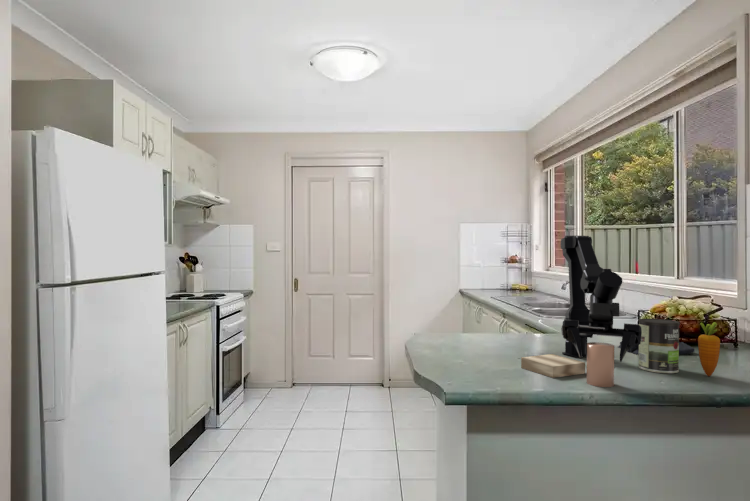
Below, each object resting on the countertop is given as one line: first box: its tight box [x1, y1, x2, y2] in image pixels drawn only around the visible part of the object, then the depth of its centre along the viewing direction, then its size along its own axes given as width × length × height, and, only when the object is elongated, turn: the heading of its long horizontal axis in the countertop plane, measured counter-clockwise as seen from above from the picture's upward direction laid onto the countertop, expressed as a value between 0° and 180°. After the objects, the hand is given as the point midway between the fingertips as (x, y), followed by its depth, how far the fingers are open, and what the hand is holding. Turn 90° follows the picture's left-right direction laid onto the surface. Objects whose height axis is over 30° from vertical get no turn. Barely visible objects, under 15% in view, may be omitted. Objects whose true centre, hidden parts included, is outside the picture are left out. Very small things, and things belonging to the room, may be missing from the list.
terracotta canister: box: [586, 341, 615, 388], centre depth 124 cm, size 6×6×10 cm
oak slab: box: [520, 353, 586, 379], centre depth 137 cm, size 12×12×3 cm
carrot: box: [697, 321, 721, 377], centre depth 132 cm, size 5×5×15 cm
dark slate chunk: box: [617, 340, 696, 356], centre depth 166 cm, size 15×22×5 cm
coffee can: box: [637, 318, 681, 374], centre depth 140 cm, size 10×10×14 cm
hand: (600, 358), depth 122 cm, fingers open, 9 cm apart
